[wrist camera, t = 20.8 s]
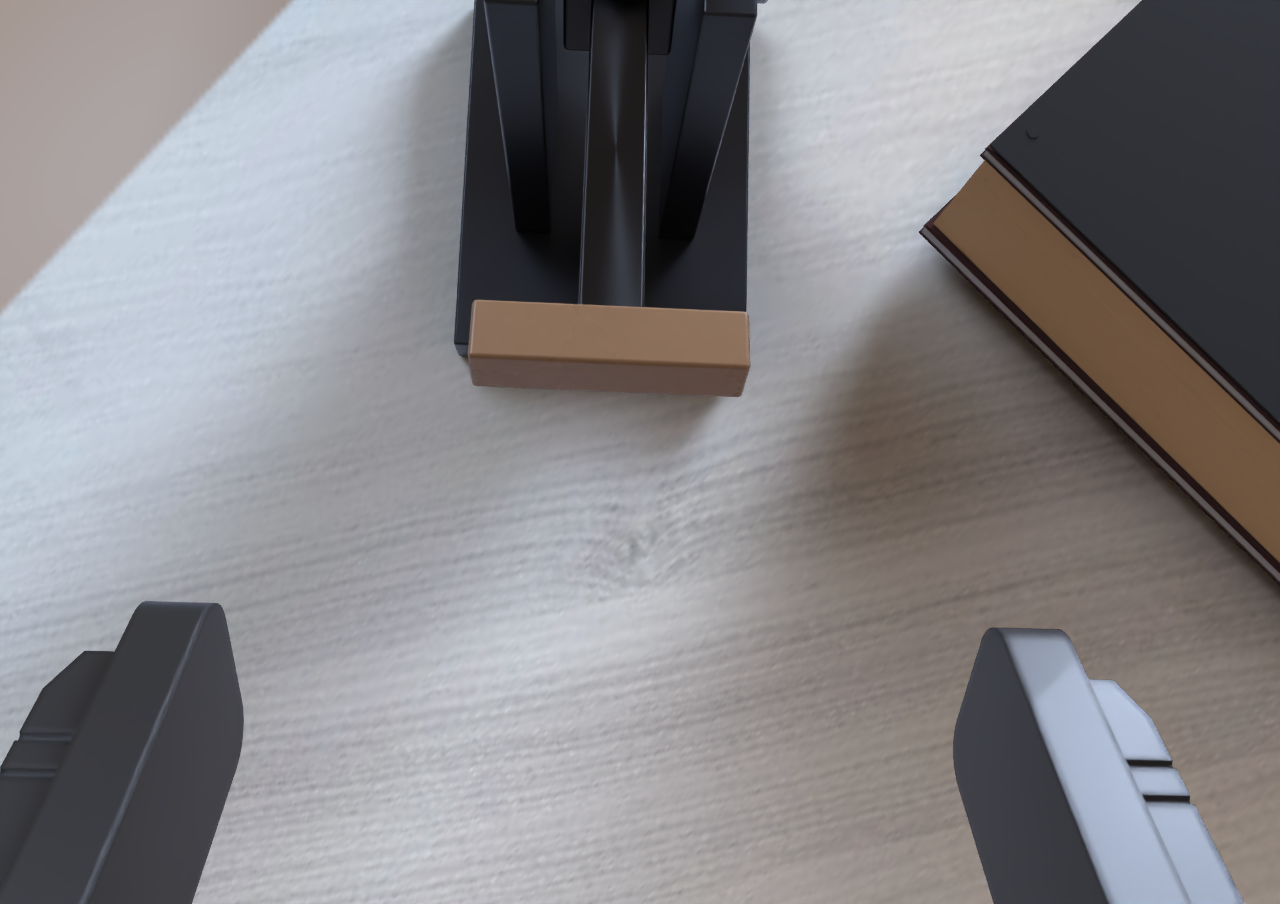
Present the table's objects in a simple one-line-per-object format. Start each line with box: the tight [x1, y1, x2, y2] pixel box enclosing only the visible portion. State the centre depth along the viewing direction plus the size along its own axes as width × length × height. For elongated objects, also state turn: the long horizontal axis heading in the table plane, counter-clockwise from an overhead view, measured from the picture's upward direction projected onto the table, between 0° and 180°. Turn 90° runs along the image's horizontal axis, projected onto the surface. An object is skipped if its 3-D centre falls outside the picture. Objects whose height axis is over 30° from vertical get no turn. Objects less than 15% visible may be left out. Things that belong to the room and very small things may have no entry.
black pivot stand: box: [454, 0, 767, 356], centre depth 28 cm, size 11×8×13 cm
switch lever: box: [468, 0, 750, 397], centre depth 22 cm, size 11×5×2 cm, turn 178°
